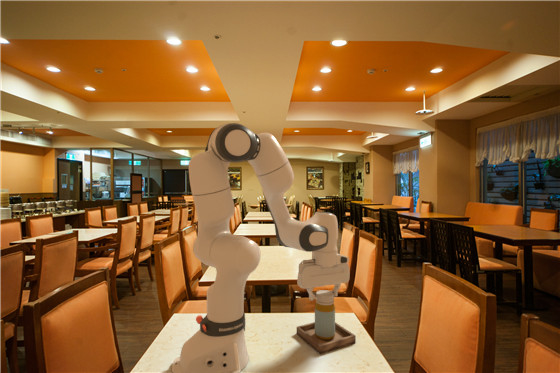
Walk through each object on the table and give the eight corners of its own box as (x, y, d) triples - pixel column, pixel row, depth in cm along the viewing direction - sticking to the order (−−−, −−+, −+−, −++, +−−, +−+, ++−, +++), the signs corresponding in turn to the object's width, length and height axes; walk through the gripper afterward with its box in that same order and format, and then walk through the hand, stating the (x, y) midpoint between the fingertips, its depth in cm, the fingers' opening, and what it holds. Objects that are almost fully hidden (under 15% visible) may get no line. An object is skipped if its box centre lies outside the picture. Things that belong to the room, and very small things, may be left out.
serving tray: (320, 354, 95) (320, 346, 95) (296, 333, 108) (296, 326, 108) (355, 342, 102) (355, 335, 102) (329, 324, 115) (329, 318, 115)
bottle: (333, 331, 108) (333, 289, 108) (336, 341, 101) (336, 297, 101) (314, 330, 109) (314, 289, 109) (315, 340, 102) (315, 296, 102)
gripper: (304, 262, 97) (303, 305, 97) (352, 257, 107) (351, 296, 107) (294, 258, 103) (293, 299, 103) (341, 254, 112) (340, 291, 112)
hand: (323, 297), depth 105 cm, fingers open, 8 cm apart
